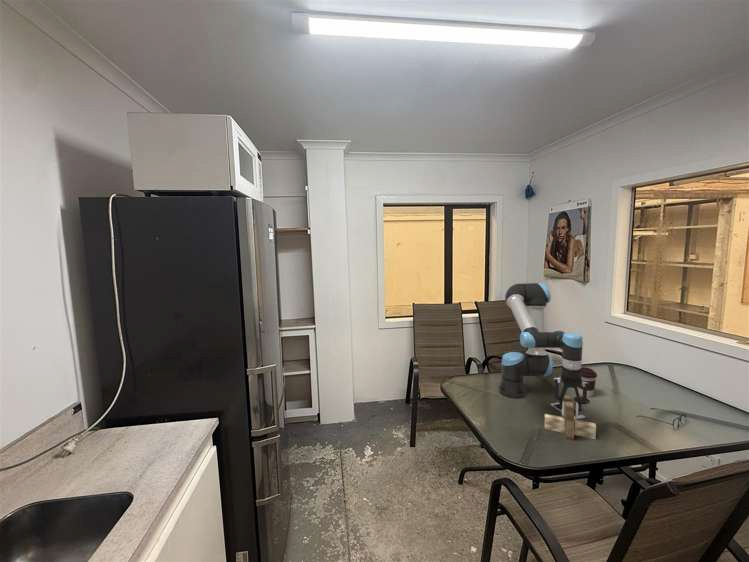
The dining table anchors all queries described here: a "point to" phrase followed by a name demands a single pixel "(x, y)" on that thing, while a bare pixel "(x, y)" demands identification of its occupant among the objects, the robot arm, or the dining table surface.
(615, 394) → the dining table surface
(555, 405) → the smartphone
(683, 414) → the glasses
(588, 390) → the coffee cup
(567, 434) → the walnut cross plate
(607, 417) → the dining table surface
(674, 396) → the dining table surface
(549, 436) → the dining table surface
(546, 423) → the beech base plate
